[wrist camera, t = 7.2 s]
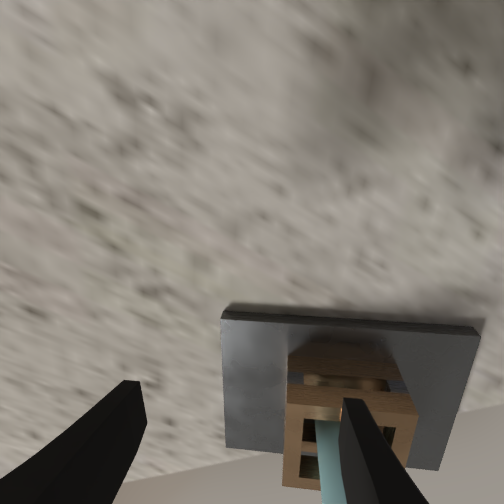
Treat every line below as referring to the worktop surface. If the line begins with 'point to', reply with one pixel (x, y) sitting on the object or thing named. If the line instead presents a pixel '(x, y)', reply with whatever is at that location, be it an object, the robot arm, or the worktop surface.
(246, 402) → the wooden crate on slab
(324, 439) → the teal cylinder
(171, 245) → the worktop surface
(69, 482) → the robot arm
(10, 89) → the worktop surface
